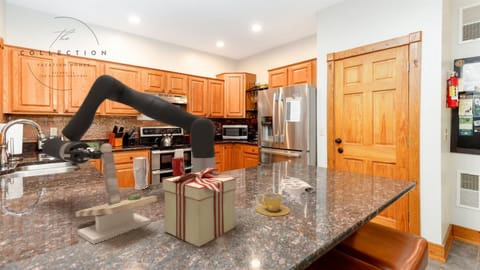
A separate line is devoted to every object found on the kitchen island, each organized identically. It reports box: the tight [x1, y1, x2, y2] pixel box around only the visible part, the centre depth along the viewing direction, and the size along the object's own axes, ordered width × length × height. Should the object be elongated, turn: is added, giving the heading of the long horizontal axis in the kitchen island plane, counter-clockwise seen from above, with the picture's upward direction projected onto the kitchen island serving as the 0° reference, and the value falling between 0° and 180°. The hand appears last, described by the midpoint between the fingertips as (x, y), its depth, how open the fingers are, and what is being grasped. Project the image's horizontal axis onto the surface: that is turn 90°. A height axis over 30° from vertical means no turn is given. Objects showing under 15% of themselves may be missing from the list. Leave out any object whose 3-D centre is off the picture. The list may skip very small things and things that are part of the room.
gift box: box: [162, 167, 239, 248], centre depth 66 cm, size 17×18×17 cm
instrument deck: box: [74, 142, 158, 218], centre depth 69 cm, size 24×12×20 cm, turn 54°
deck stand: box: [77, 208, 151, 245], centre depth 68 cm, size 10×16×5 cm, turn 144°
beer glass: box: [132, 156, 150, 191], centre depth 113 cm, size 7×7×15 cm
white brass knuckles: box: [277, 178, 315, 196], centre depth 109 cm, size 3×18×15 cm
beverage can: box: [171, 156, 186, 178], centre depth 114 cm, size 6×6×15 cm
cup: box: [255, 192, 291, 217], centre depth 82 cm, size 12×12×5 cm
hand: (97, 155), depth 73 cm, fingers closed
